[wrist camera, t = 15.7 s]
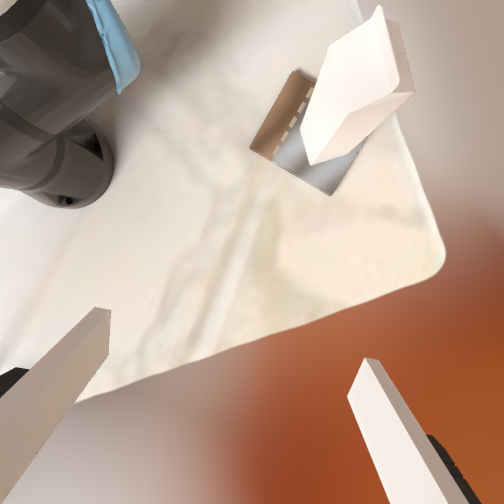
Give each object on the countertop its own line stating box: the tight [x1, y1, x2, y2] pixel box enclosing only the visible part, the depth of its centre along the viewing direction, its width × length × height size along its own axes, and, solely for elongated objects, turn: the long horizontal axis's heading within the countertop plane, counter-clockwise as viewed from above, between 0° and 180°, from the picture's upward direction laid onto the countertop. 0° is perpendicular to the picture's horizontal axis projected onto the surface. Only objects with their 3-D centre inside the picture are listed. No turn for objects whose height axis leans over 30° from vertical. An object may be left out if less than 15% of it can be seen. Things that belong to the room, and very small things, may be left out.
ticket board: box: [250, 71, 367, 196], centre depth 42 cm, size 15×13×1 cm
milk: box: [300, 4, 415, 166], centre depth 31 cm, size 6×6×22 cm
